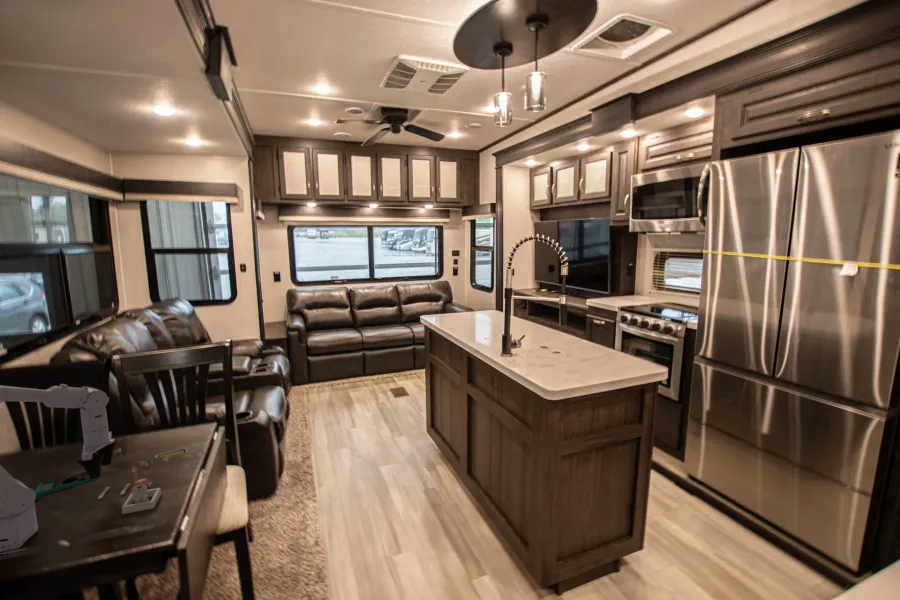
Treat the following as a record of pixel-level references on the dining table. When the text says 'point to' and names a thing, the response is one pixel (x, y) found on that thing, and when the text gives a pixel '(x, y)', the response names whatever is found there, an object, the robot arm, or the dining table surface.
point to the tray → (130, 507)
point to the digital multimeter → (61, 484)
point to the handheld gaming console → (173, 452)
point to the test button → (142, 481)
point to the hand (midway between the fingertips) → (100, 471)
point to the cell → (140, 493)
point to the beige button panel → (121, 492)
